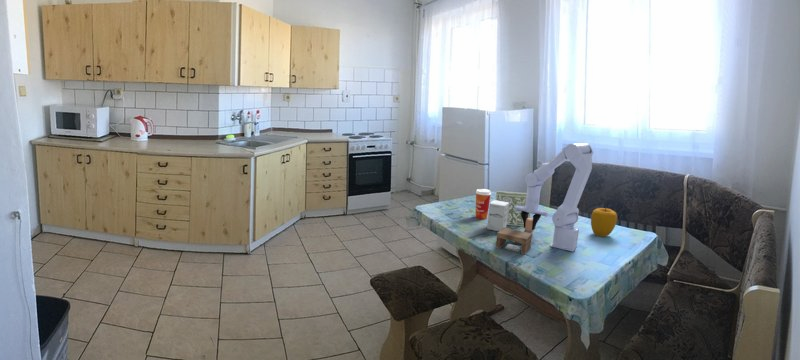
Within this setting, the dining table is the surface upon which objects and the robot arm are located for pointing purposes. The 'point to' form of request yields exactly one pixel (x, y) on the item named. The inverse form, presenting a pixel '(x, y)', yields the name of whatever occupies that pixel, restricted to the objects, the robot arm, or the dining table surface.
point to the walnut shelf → (514, 238)
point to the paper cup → (482, 203)
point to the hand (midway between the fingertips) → (529, 228)
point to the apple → (603, 221)
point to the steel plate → (512, 247)
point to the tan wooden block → (527, 227)
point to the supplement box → (497, 215)
